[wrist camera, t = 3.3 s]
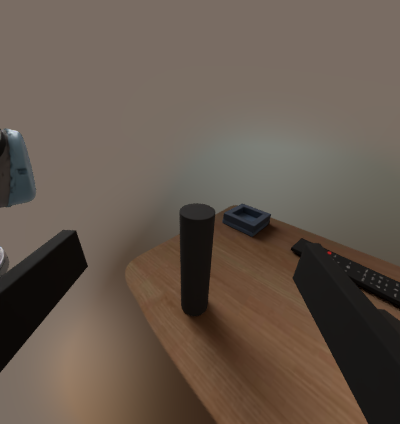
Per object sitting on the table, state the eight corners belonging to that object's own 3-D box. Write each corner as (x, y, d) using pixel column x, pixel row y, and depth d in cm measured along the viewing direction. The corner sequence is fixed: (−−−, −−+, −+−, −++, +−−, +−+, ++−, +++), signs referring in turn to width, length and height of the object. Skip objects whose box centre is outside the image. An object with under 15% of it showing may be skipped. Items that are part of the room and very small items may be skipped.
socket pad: (222, 222, 50) (223, 212, 48) (240, 212, 56) (242, 203, 54) (252, 237, 44) (254, 226, 43) (269, 223, 50) (271, 214, 49)
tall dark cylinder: (175, 302, 28) (172, 209, 20) (195, 288, 30) (198, 200, 23) (193, 322, 25) (196, 223, 18) (212, 304, 28) (222, 212, 20)
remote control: (300, 242, 43) (301, 238, 42) (465, 321, 27) (472, 315, 26) (289, 252, 39) (291, 247, 39) (470, 347, 24) (478, 341, 23)
